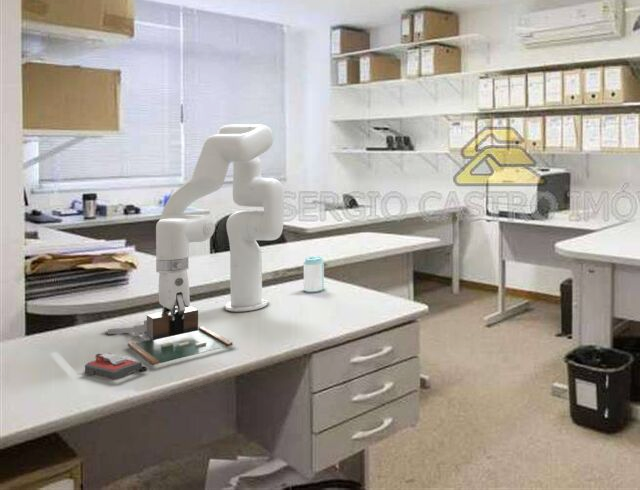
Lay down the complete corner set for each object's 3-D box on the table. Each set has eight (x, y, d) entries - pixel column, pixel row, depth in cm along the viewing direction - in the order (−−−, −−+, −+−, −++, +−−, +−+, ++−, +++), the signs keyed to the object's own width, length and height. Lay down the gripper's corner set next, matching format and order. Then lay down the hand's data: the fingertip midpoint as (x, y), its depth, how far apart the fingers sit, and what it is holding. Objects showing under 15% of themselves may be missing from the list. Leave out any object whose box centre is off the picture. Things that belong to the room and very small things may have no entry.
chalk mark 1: (161, 346, 148) (161, 344, 148) (171, 343, 149) (171, 341, 149) (162, 347, 147) (162, 345, 147) (172, 344, 149) (172, 343, 149)
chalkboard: (128, 349, 149) (128, 342, 149) (202, 332, 162) (202, 326, 162) (153, 369, 135) (153, 362, 135) (232, 349, 149) (232, 342, 149)
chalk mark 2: (177, 345, 148) (177, 344, 148) (187, 343, 150) (187, 341, 150) (179, 347, 147) (179, 345, 147) (189, 344, 149) (189, 342, 149)
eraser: (146, 336, 151) (146, 314, 151) (191, 326, 159) (191, 306, 159) (152, 340, 148) (152, 318, 147) (198, 330, 156) (198, 309, 156)
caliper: (154, 343, 153) (153, 320, 153) (150, 344, 152) (149, 321, 152) (109, 332, 162) (108, 310, 162) (104, 333, 161) (104, 311, 161)
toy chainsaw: (156, 371, 134) (101, 359, 142) (156, 353, 134) (101, 341, 142) (118, 386, 126) (62, 372, 134) (118, 366, 126) (62, 353, 134)
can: (300, 292, 207) (299, 259, 206) (309, 287, 214) (309, 255, 213) (318, 293, 205) (318, 260, 205) (327, 288, 212) (327, 256, 212)
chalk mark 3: (194, 345, 148) (194, 343, 148) (204, 343, 150) (204, 341, 150) (196, 346, 147) (196, 344, 147) (206, 344, 149) (206, 342, 149)
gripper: (199, 267, 150) (199, 336, 150) (176, 258, 162) (177, 322, 162) (168, 271, 145) (168, 343, 145) (146, 262, 156) (147, 328, 156)
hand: (172, 331), depth 153 cm, fingers closed on eraser, 5 cm apart
